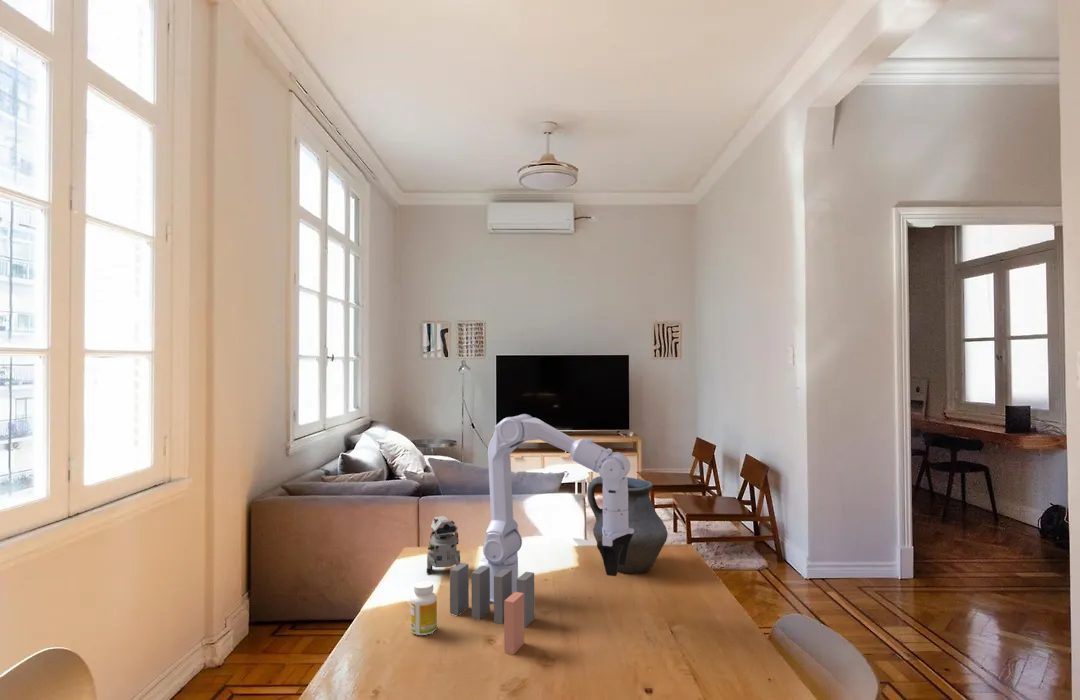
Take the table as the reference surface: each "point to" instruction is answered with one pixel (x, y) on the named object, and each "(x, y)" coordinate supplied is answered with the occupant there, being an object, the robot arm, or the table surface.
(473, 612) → the domino
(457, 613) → the domino
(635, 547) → the pitcher
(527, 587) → the domino
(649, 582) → the table surface
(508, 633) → the red domino
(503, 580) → the domino
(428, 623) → the supplement bottle
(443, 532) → the figurine
